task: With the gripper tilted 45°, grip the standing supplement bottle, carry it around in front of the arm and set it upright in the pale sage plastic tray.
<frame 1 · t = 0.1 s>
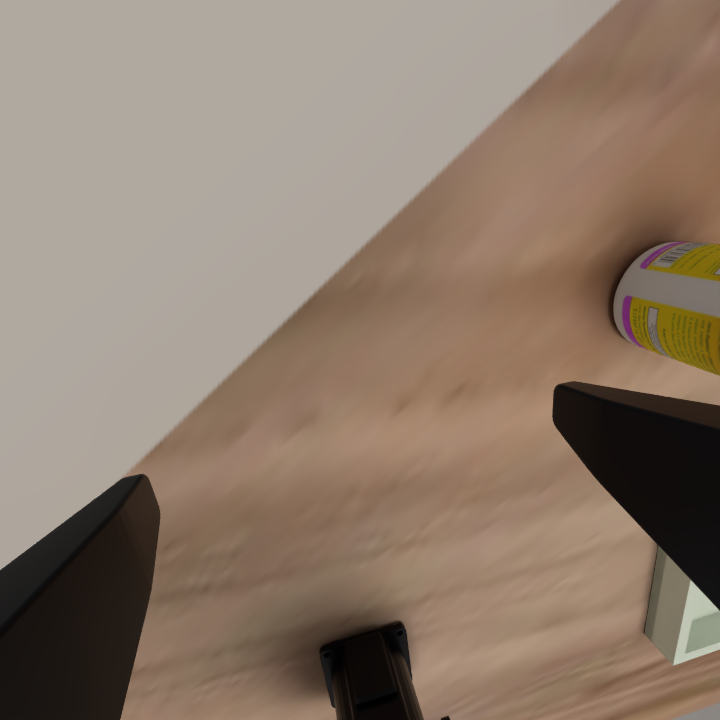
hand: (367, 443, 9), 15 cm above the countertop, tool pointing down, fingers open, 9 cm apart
supplement bottle: (651, 293, 27), on the countertop
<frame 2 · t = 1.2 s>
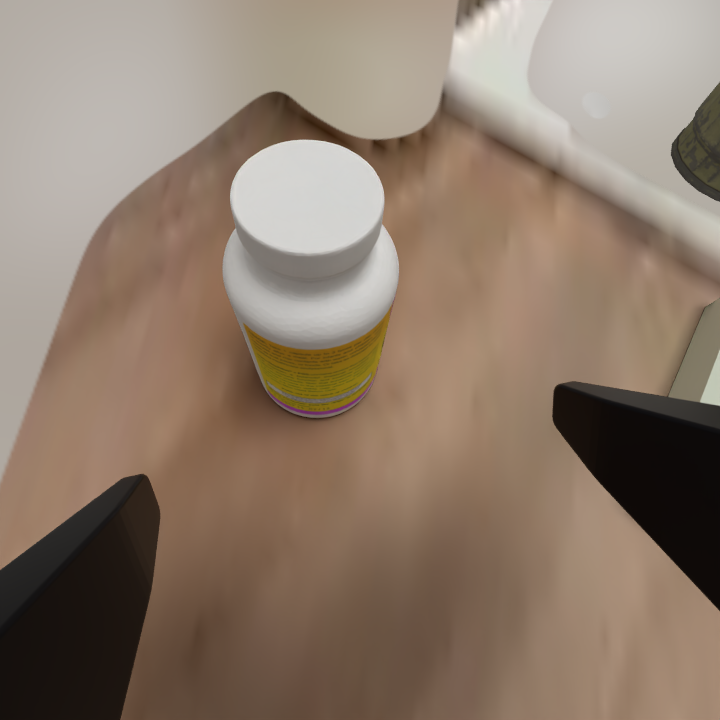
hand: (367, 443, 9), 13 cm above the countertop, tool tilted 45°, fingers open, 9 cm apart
supplement bottle: (318, 366, 25), on the countertop
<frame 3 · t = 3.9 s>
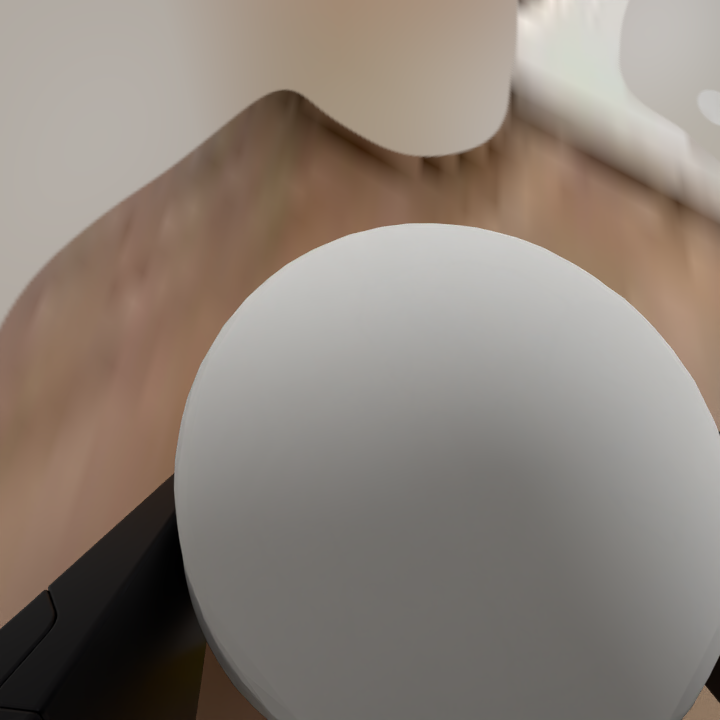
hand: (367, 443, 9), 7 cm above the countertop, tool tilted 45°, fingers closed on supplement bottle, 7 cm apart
supplement bottle: (360, 529, 15), on the countertop, touching gripper
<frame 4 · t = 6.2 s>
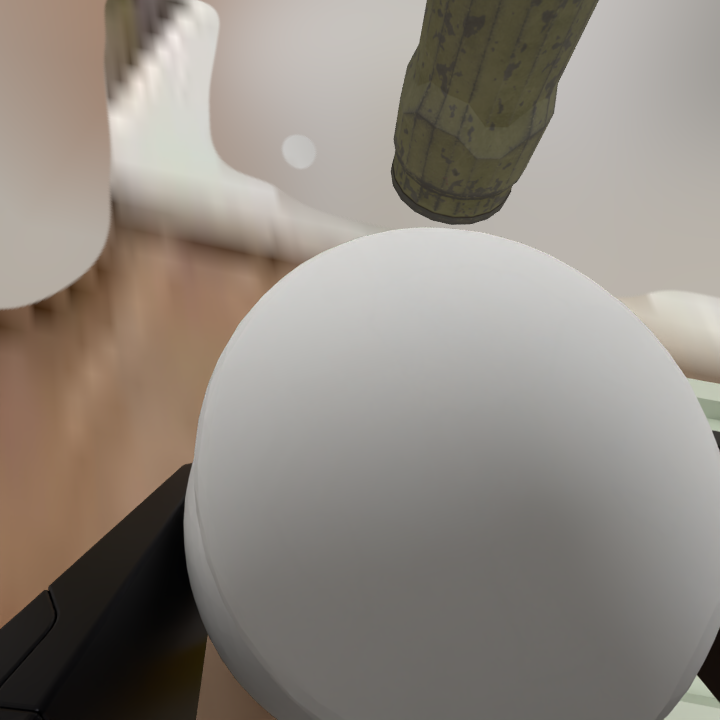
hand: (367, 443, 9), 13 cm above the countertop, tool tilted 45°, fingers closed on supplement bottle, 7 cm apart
thermos: (450, 180, 31), on the countertop
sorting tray: (609, 524, 22), on the countertop
supplement bottle: (352, 529, 15), point 6 cm above the countertop, touching gripper
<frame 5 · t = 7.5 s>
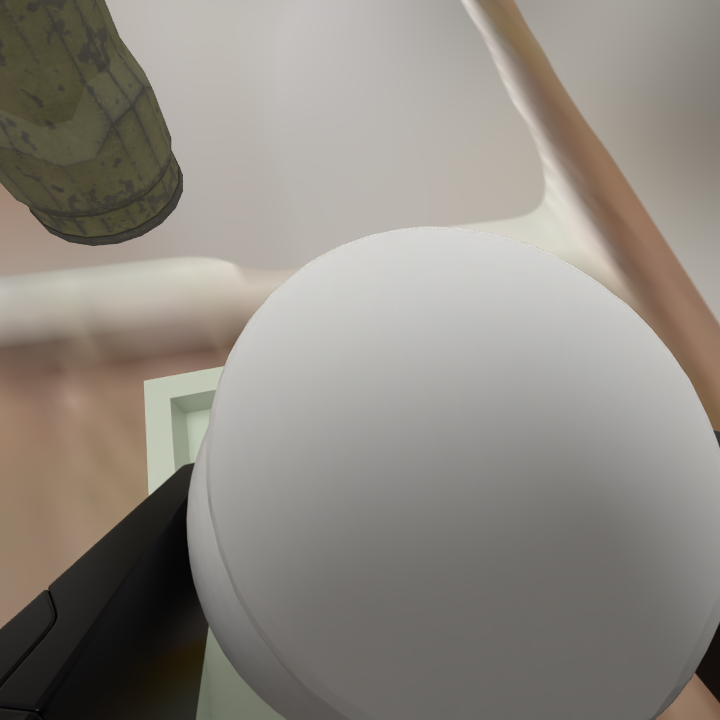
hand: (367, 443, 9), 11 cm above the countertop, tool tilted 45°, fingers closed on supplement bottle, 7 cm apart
thermos: (112, 190, 26), on the countertop
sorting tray: (352, 526, 19), on the countertop
supplement bottle: (350, 529, 15), point 4 cm above the countertop, touching gripper
when the fingers open (8 cm above the countertop, at t = 8.6 s): supplement bottle stays where it is, resting on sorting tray.
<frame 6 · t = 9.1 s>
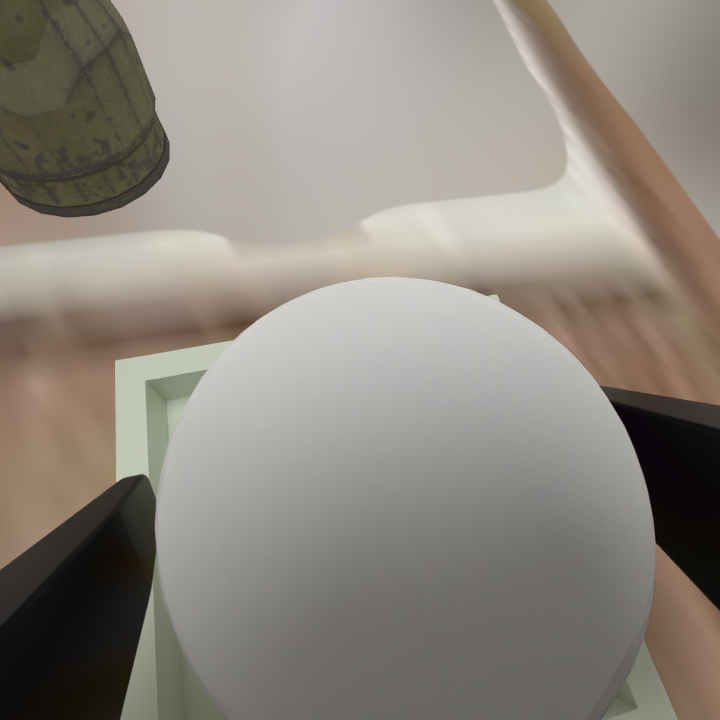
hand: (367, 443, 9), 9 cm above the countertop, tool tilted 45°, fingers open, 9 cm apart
thermos: (91, 159, 24), on the countertop
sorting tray: (358, 530, 16), on the countertop
supplement bottle: (351, 537, 16), point 1 cm above the countertop, touching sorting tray
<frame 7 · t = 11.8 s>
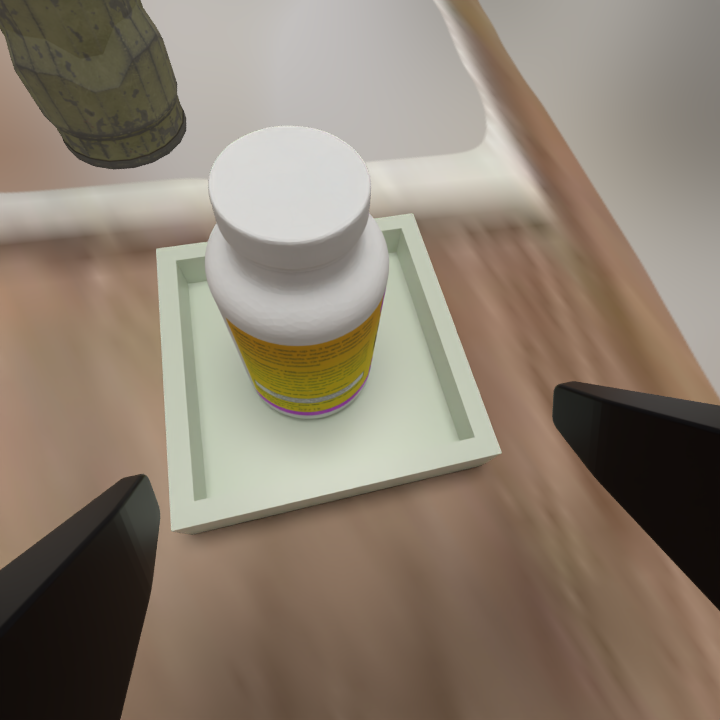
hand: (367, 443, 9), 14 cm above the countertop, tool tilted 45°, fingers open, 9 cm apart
thermos: (129, 129, 32), on the countertop
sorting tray: (316, 366, 25), on the countertop
supplement bottle: (310, 365, 24), point 1 cm above the countertop, touching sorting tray
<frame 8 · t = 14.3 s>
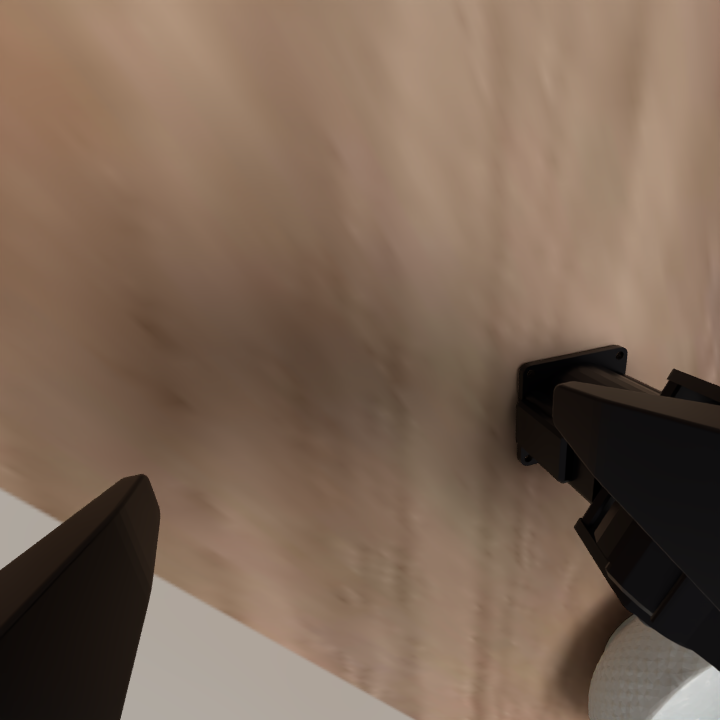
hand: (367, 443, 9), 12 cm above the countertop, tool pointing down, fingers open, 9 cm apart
cereal bowl: (643, 635, 36), on the countertop
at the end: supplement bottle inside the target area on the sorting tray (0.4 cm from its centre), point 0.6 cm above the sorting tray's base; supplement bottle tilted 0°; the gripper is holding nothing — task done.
